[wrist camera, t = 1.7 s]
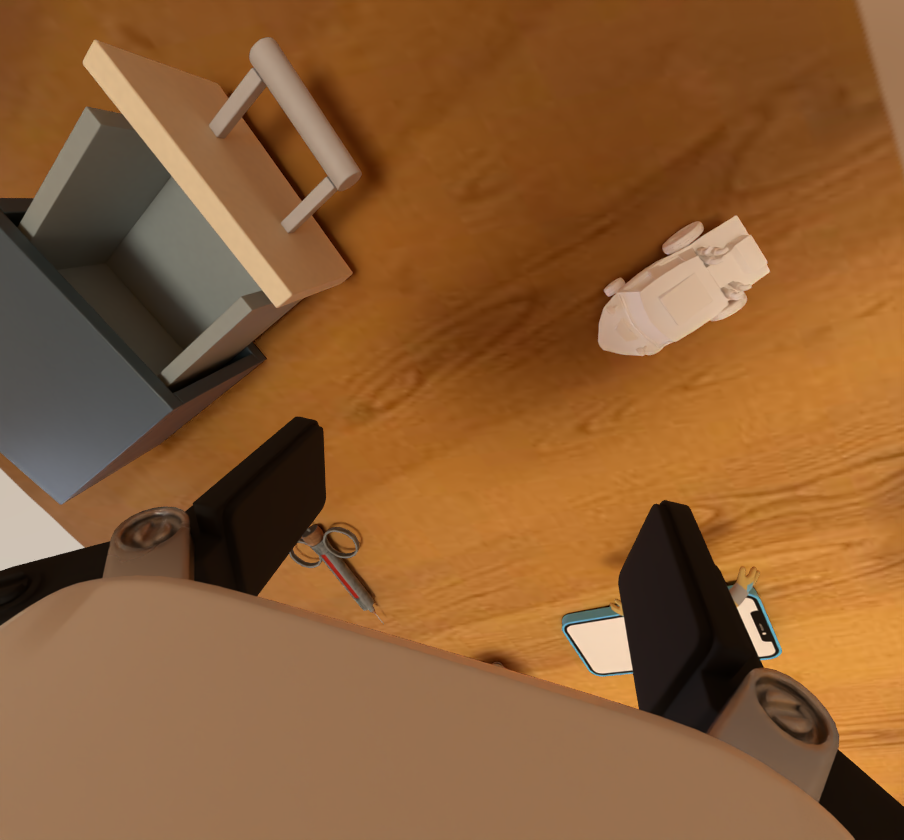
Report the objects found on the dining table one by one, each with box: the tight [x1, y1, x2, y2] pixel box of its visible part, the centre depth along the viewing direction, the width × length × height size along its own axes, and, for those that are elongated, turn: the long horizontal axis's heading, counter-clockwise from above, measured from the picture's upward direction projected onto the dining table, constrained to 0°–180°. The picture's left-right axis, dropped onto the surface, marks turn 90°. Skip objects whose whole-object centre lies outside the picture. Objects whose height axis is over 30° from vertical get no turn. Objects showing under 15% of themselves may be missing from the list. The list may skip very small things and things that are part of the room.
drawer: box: [17, 37, 362, 393], centre depth 22 cm, size 19×11×7 cm, turn 125°
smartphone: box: [562, 585, 782, 676], centre depth 34 cm, size 8×1×15 cm
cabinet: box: [0, 198, 266, 504], centre depth 28 cm, size 16×13×9 cm
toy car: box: [598, 215, 770, 356], centre depth 21 cm, size 5×8×4 cm, turn 132°
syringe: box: [289, 525, 384, 624], centre depth 38 cm, size 8×18×2 cm, turn 29°
